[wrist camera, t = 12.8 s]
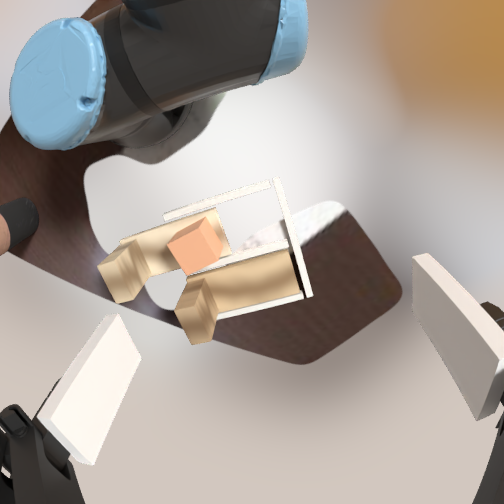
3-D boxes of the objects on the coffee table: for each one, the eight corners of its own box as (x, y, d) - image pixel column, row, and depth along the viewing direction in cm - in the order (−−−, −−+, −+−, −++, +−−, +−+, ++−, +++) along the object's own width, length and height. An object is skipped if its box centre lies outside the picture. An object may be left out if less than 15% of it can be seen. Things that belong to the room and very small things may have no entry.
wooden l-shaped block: (187, 276, 49) (172, 307, 41) (287, 248, 47) (291, 277, 38) (204, 312, 52) (193, 347, 43) (299, 288, 49) (305, 323, 41)
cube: (176, 232, 45) (166, 244, 40) (205, 216, 44) (198, 227, 39) (194, 260, 47) (186, 275, 42) (223, 246, 46) (218, 260, 41)
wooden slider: (122, 238, 47) (95, 262, 39) (215, 207, 45) (203, 227, 36) (140, 277, 50) (118, 306, 41) (231, 251, 47) (223, 280, 39)
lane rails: (164, 213, 46) (162, 215, 45) (279, 176, 43) (279, 177, 42) (209, 318, 52) (208, 321, 51) (312, 292, 50) (313, 296, 49)
